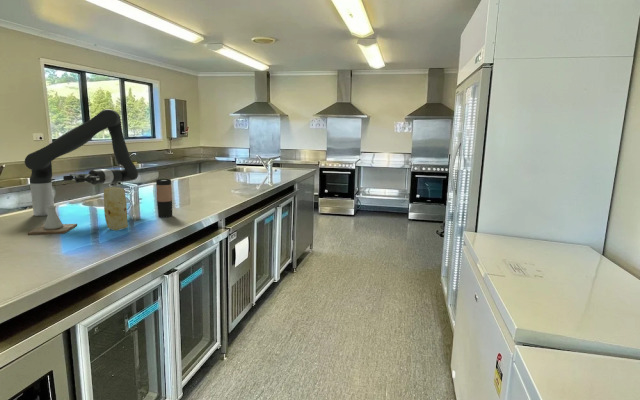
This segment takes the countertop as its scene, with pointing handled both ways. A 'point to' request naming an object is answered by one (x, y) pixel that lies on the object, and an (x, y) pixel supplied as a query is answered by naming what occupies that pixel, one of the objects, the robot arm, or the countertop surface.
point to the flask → (52, 219)
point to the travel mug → (164, 197)
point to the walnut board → (52, 230)
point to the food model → (115, 208)
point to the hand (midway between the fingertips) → (69, 179)
